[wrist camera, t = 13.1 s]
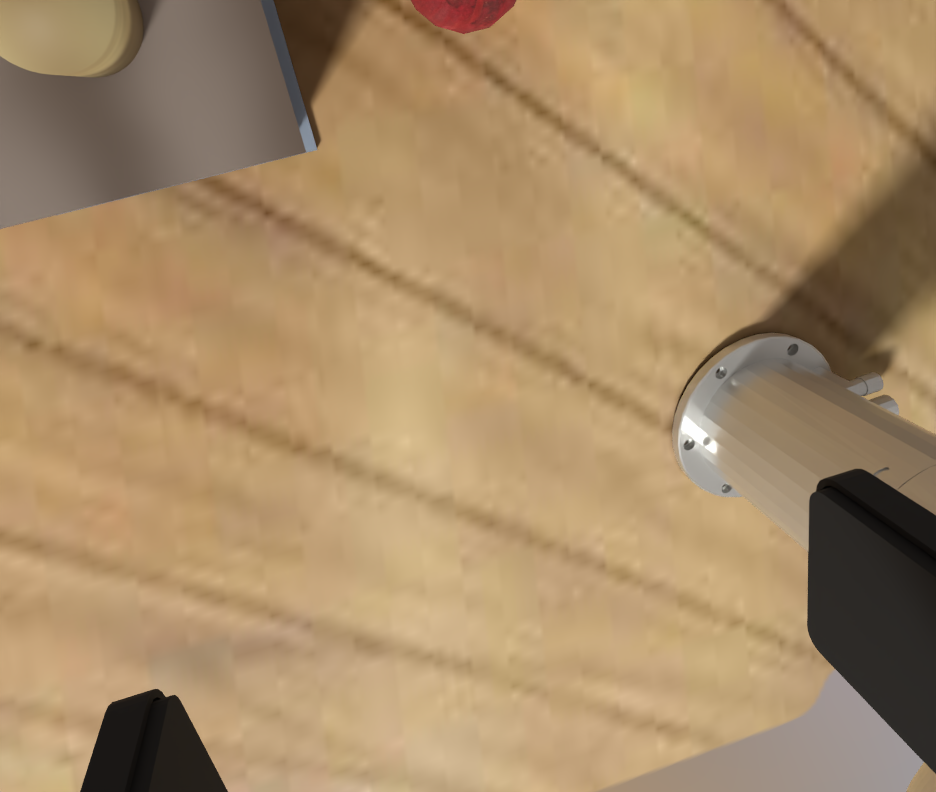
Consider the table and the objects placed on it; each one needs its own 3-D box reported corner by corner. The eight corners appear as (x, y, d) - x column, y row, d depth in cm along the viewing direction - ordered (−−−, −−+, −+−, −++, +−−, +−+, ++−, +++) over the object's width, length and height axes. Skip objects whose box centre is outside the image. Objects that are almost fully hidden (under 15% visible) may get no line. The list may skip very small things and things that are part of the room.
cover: (214, -134, 30) (169, -323, 16) (295, 135, 35) (314, 165, 21) (-59, -83, 28) (-365, -245, 15) (67, 191, 33) (-73, 263, 20)
